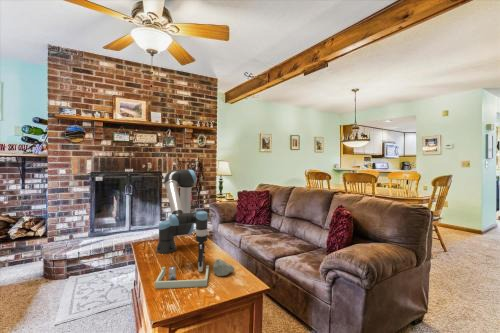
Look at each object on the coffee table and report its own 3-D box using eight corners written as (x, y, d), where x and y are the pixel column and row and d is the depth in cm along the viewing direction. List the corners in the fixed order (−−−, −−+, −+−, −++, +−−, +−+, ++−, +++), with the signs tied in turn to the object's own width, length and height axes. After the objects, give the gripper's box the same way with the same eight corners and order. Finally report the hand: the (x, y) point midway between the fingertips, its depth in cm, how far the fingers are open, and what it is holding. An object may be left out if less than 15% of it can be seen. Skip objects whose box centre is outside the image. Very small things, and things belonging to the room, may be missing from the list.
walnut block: (198, 266, 168) (198, 255, 168) (204, 265, 168) (205, 255, 168) (197, 269, 163) (197, 258, 163) (204, 268, 164) (204, 258, 164)
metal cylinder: (169, 277, 151) (169, 266, 151) (176, 277, 151) (176, 265, 151) (168, 280, 147) (168, 268, 147) (175, 280, 147) (175, 268, 147)
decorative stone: (212, 278, 150) (222, 266, 149) (209, 265, 159) (218, 254, 158) (228, 284, 156) (238, 272, 155) (224, 271, 165) (233, 260, 164)
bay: (162, 273, 156) (162, 266, 155) (209, 272, 159) (209, 265, 159) (154, 288, 137) (154, 280, 137) (207, 286, 141) (207, 278, 141)
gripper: (197, 230, 177) (197, 260, 178) (193, 240, 153) (193, 275, 153) (208, 230, 178) (208, 259, 178) (206, 240, 154) (205, 274, 154)
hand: (201, 267), depth 166 cm, fingers open, 12 cm apart
